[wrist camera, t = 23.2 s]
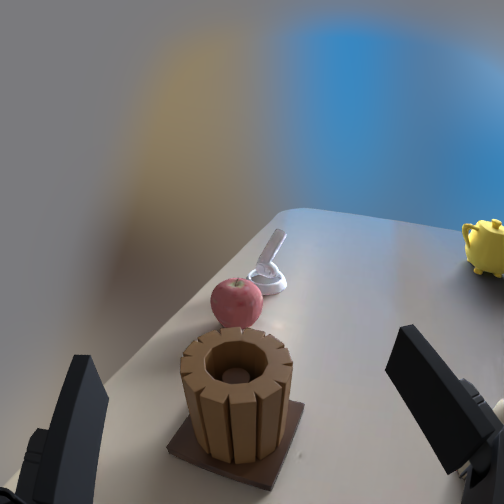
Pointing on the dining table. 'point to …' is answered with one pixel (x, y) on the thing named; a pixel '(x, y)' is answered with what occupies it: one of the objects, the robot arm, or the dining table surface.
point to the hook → (270, 265)
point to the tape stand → (248, 473)
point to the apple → (236, 303)
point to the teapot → (485, 246)
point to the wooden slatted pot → (237, 393)
